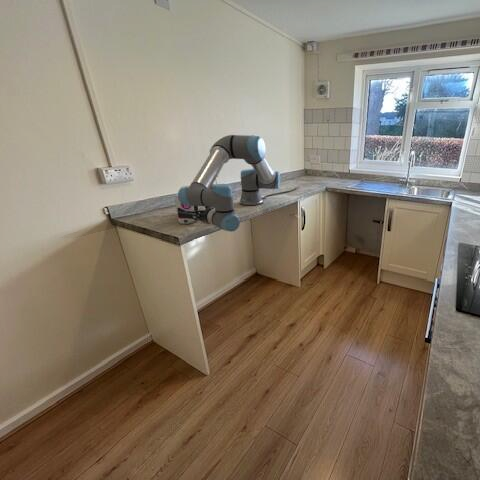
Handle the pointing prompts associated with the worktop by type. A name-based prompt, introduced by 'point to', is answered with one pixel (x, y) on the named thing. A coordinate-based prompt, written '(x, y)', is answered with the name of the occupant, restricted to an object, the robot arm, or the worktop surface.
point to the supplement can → (185, 207)
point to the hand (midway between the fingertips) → (192, 207)
